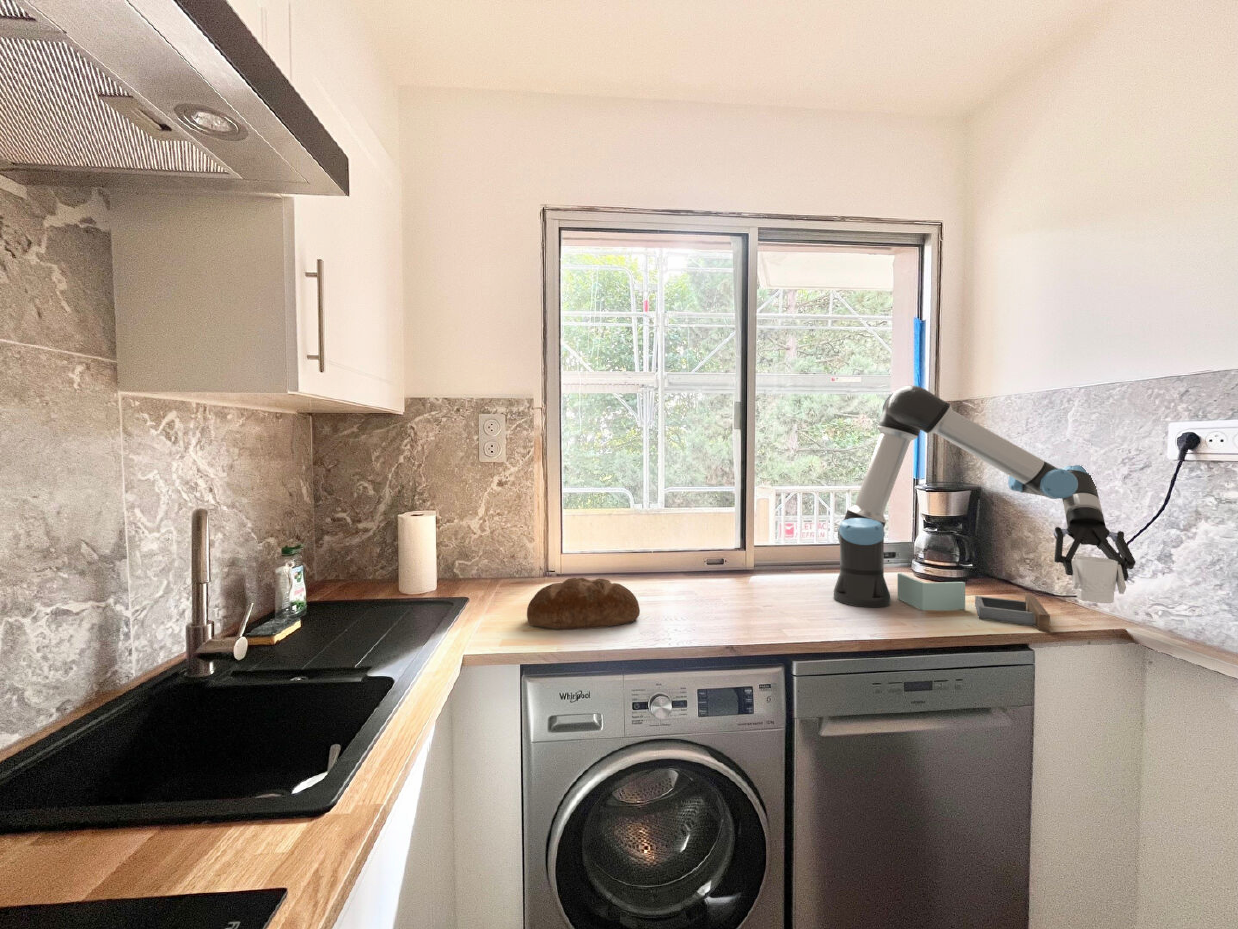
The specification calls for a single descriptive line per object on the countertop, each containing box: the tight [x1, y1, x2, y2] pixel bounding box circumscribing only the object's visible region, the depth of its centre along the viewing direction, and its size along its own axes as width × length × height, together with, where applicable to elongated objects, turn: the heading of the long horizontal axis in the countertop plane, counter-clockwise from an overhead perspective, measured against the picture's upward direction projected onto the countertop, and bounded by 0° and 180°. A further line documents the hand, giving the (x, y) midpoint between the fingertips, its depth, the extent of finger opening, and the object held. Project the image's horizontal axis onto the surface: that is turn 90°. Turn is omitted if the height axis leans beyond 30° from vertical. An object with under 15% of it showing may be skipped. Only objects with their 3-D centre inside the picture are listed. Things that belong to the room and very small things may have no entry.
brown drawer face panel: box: [1024, 594, 1051, 633], centre depth 135 cm, size 2×20×4 cm, turn 150°
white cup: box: [1074, 555, 1118, 604], centre depth 130 cm, size 8×8×10 cm
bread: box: [526, 577, 641, 630], centre depth 137 cm, size 16×29×11 cm, turn 99°
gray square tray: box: [974, 595, 1036, 627], centre depth 139 cm, size 12×12×3 cm
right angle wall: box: [896, 572, 966, 612], centre depth 150 cm, size 12×12×8 cm
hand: (1099, 588), depth 127 cm, fingers closed on white cup, 8 cm apart
